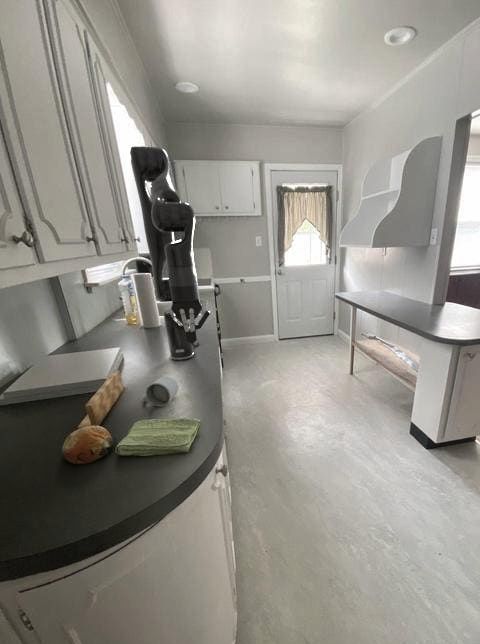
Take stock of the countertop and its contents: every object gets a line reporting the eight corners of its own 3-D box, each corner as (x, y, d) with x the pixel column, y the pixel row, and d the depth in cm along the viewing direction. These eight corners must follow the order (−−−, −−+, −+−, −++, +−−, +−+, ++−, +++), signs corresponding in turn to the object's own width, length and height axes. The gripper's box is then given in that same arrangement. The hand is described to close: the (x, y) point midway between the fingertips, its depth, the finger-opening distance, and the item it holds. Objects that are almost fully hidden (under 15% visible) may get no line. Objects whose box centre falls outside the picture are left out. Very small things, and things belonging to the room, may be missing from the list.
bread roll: (110, 448, 80) (98, 420, 79) (122, 448, 72) (109, 417, 72) (67, 468, 73) (53, 438, 72) (76, 471, 65) (60, 437, 65)
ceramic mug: (182, 394, 99) (178, 372, 96) (172, 406, 92) (167, 383, 89) (151, 394, 100) (146, 373, 97) (138, 406, 93) (132, 384, 90)
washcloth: (191, 455, 71) (189, 444, 70) (114, 459, 70) (110, 447, 69) (202, 424, 83) (201, 414, 82) (137, 427, 82) (134, 416, 81)
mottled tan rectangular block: (108, 390, 103) (102, 371, 100) (123, 388, 104) (119, 370, 101) (77, 429, 81) (70, 407, 79) (98, 427, 82) (91, 405, 80)
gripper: (208, 280, 89) (215, 337, 95) (161, 282, 86) (171, 340, 93) (207, 284, 82) (214, 344, 89) (155, 286, 80) (167, 348, 86)
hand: (192, 342), depth 91 cm, fingers closed
